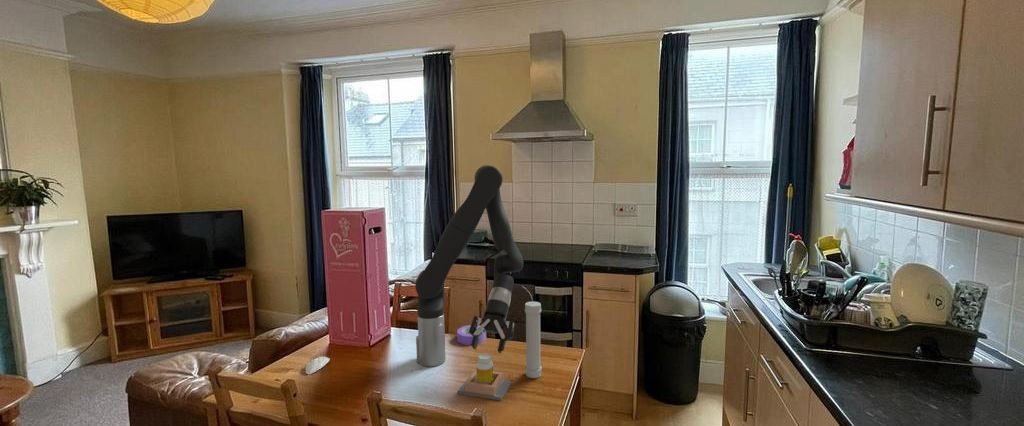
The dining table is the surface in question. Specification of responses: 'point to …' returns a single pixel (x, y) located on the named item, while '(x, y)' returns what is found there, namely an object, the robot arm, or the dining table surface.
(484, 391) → the holder
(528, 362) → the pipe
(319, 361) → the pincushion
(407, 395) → the dining table surface
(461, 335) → the masking tape
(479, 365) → the supplement bottle
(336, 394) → the dining table surface
